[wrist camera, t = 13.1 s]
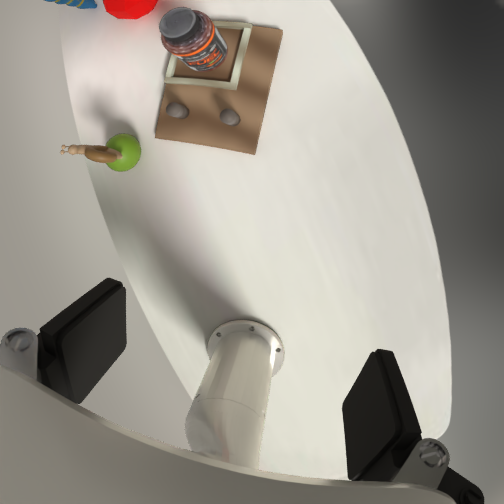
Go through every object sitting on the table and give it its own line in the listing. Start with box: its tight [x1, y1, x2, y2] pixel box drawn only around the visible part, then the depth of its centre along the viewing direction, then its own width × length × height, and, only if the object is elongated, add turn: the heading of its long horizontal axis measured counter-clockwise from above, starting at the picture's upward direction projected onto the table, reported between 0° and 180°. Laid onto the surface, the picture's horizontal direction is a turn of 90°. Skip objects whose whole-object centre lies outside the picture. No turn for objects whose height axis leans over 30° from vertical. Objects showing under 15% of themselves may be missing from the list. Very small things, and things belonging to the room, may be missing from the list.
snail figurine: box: [61, 134, 141, 172], centre depth 33 cm, size 5×6×12 cm
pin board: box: [155, 21, 283, 155], centre depth 32 cm, size 18×14×5 cm
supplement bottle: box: [159, 7, 228, 72], centre depth 27 cm, size 6×6×11 cm
